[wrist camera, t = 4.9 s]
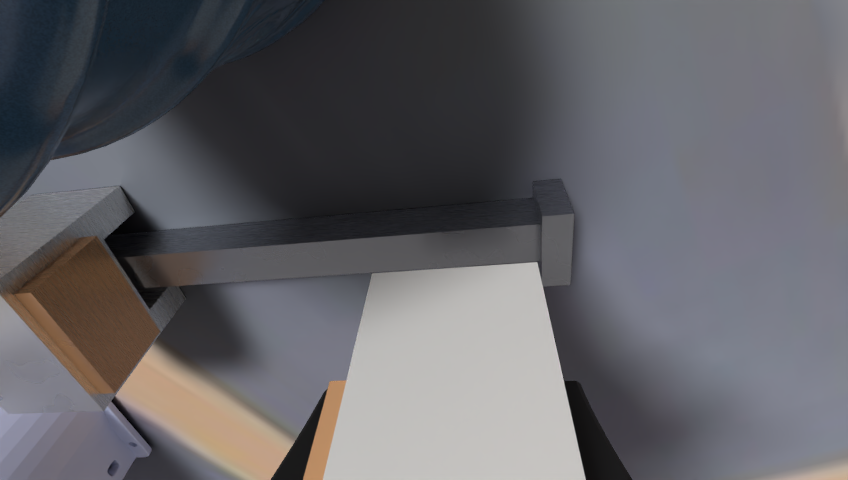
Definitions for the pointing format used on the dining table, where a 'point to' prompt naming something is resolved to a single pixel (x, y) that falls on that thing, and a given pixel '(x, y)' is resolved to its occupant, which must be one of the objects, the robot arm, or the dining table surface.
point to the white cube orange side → (450, 383)
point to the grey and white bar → (212, 274)
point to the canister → (112, 69)
